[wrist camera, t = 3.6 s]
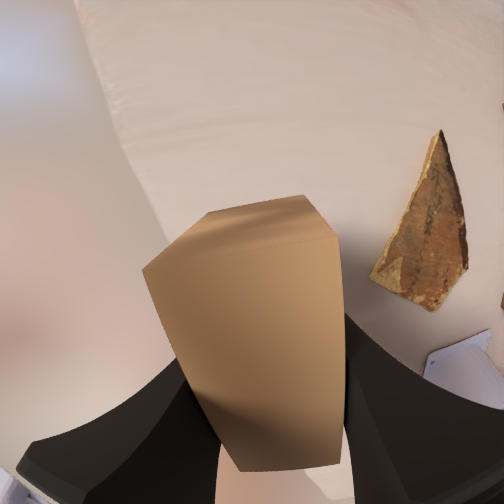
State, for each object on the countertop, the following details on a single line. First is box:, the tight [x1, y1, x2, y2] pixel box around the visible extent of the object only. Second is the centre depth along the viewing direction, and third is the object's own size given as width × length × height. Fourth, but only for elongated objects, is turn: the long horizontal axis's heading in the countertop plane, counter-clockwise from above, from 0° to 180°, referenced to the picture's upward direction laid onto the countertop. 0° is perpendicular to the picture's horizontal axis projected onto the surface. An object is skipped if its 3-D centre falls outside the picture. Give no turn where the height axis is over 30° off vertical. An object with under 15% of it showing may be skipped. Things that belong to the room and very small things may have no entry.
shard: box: [369, 129, 469, 312], centre depth 15 cm, size 11×8×2 cm
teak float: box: [142, 195, 345, 472], centre depth 8 cm, size 4×8×6 cm, turn 12°
